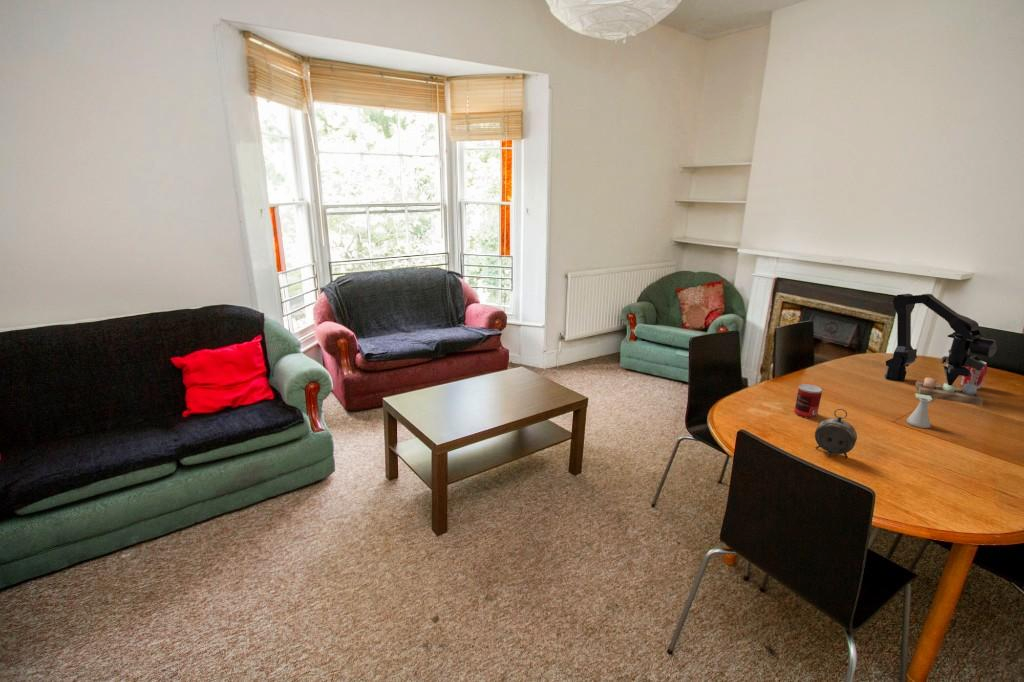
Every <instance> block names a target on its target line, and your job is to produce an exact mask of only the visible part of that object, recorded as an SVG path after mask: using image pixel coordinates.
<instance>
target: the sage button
mask: <svg viewBox="0 0 1024 682" xmlns="http://www.w3.org/2000/svg"><path fill="white" fill-rule="evenodd" d="M942 385H943V388H942V390H943V391H949V392H955V388H956V387H957V385H955V384H954V383H953V384H952V385H948V383H947V382H944V383H943V384H942Z"/></svg>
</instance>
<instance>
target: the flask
mask: <svg viewBox="0 0 1024 682" xmlns="http://www.w3.org/2000/svg"><path fill="white" fill-rule="evenodd" d="M918 400H919V403H918V404H917V407H916V408H915V409H914V410H913V412H912V413H911V414H910V415H909V417H907V418H906V423H907V424H909V425H911V426H913V427H916V428H921V429H931V421H930V417H929V404H930V403H931V401H930V400H929V399H926V398H919V399H918Z"/></svg>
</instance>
